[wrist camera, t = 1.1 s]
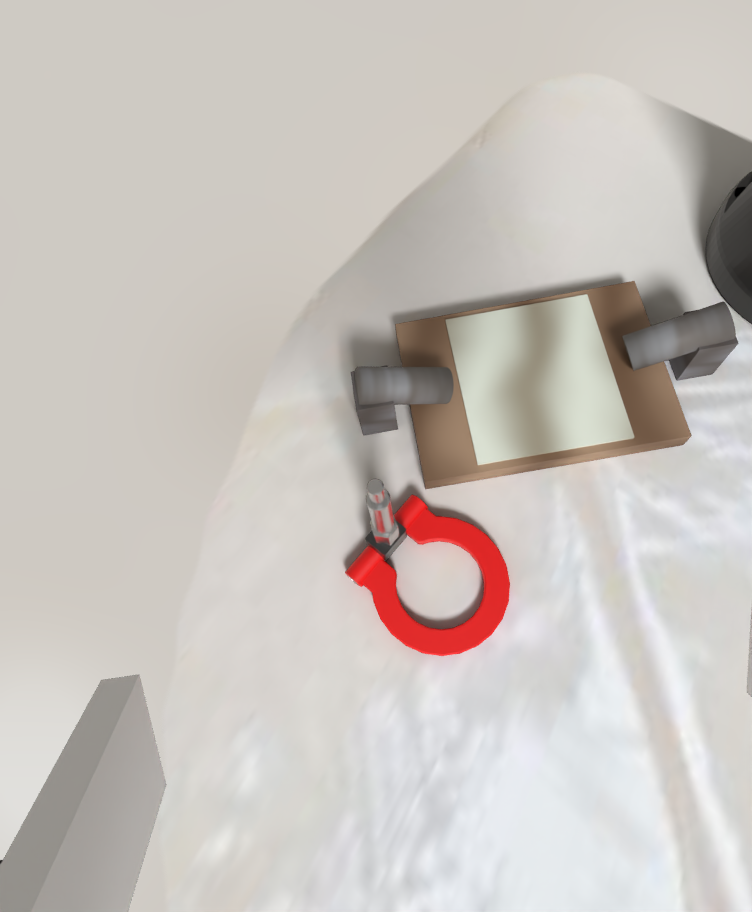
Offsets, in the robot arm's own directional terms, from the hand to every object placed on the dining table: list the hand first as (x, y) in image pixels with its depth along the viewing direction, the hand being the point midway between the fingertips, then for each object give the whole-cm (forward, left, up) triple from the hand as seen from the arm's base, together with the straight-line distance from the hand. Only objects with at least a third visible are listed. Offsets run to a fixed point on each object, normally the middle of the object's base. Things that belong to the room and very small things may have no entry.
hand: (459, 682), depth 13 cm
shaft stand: (-10, -19, -25) cm, 33 cm away
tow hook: (-1, -7, -26) cm, 26 cm away
